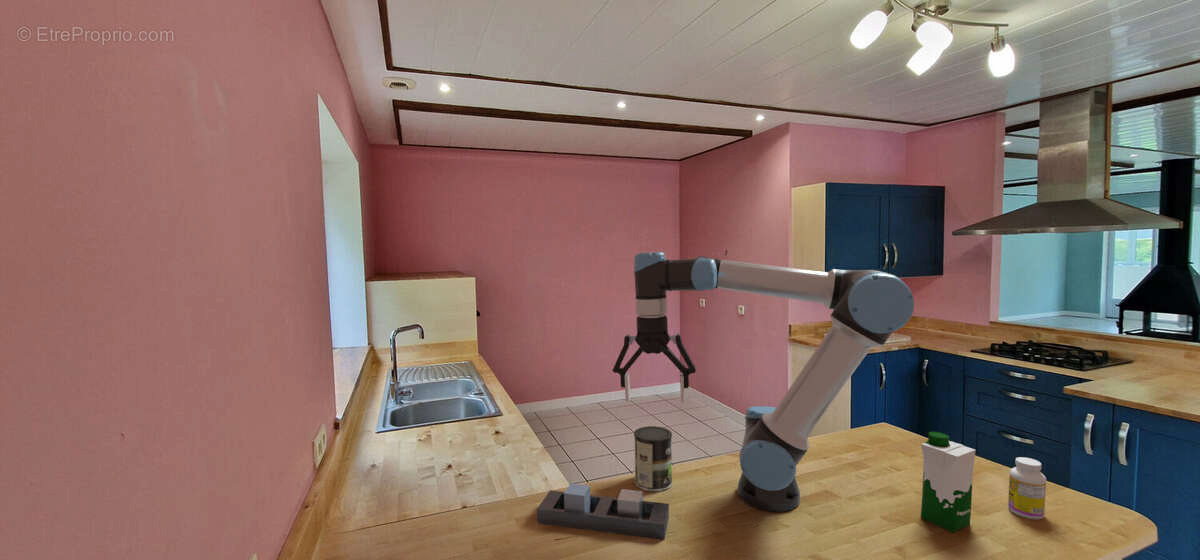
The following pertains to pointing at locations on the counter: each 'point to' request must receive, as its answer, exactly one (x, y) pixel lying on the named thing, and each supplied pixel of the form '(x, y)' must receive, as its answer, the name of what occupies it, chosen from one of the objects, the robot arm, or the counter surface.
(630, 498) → the pale wooden cube
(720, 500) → the counter surface
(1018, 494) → the supplement bottle
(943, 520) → the milk carton
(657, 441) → the coffee can
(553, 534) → the counter surface
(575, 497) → the blue-grey rectangular block
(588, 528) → the dark grey compartment tray
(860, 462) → the counter surface
